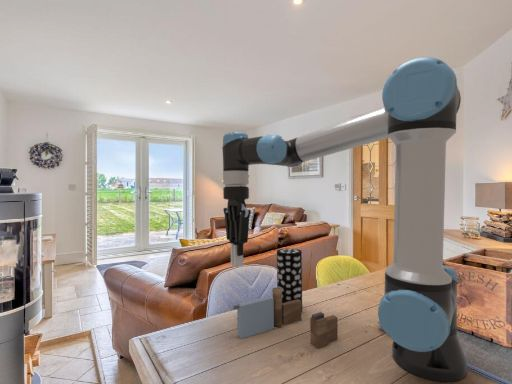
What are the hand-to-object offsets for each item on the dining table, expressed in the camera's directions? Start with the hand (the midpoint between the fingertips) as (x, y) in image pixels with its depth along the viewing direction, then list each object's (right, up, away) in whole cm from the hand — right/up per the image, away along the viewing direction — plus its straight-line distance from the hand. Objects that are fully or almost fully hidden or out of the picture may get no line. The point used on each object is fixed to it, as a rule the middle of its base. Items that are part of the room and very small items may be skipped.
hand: (237, 265), depth 89 cm
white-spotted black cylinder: (+17, -18, +12) cm, 28 cm away
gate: (+5, -18, -3) cm, 19 cm away
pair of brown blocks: (+19, -18, -3) cm, 27 cm away
